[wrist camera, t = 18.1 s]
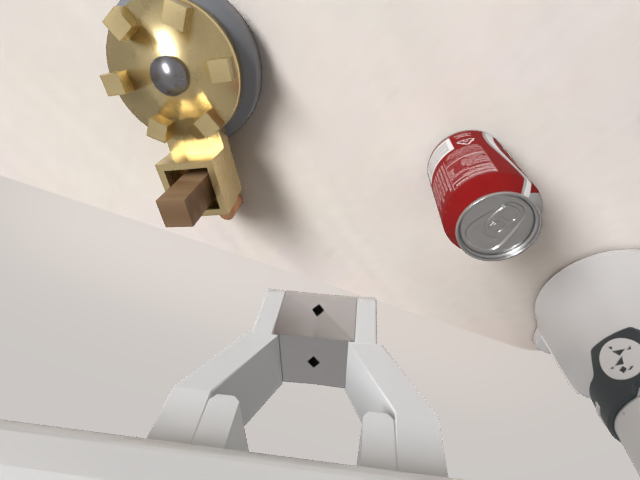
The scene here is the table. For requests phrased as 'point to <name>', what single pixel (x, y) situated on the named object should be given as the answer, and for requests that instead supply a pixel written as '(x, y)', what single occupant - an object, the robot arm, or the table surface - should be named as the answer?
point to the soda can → (483, 197)
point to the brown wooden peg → (187, 199)
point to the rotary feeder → (179, 86)
